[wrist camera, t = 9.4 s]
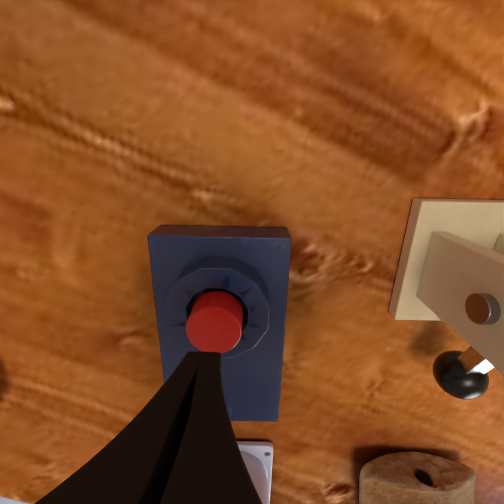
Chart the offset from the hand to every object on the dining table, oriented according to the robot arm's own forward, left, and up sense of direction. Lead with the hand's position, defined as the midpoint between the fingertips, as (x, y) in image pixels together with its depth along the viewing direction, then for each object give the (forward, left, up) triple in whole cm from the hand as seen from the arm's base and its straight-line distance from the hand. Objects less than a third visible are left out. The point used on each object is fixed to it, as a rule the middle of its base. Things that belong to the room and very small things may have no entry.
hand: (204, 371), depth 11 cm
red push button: (0, 0, -4) cm, 4 cm away
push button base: (-3, 0, -8) cm, 9 cm away
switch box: (+2, -15, -8) cm, 17 cm away
